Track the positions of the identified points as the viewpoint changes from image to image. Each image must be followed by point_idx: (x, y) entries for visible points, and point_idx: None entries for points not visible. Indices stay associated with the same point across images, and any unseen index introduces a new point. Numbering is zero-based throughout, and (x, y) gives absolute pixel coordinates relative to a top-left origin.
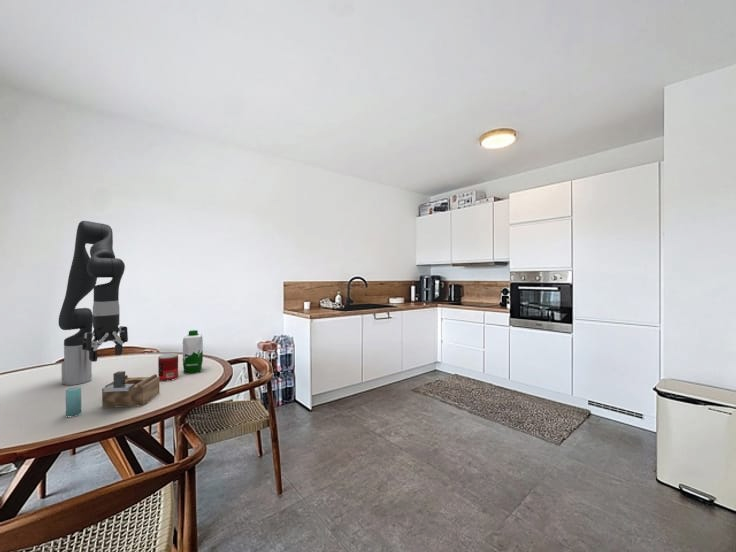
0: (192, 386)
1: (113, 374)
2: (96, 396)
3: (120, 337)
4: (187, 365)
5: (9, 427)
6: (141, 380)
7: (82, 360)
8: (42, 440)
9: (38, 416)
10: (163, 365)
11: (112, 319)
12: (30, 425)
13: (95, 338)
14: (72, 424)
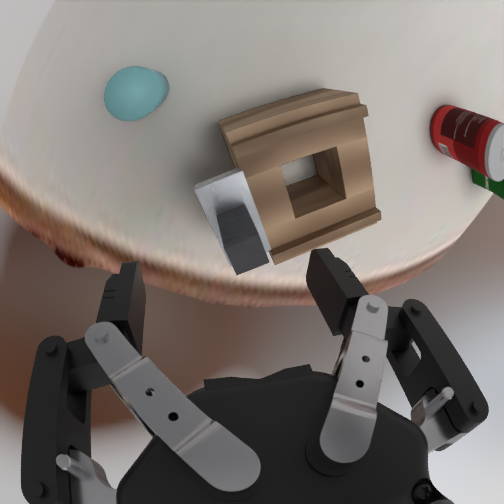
0: (392, 239)
1: (223, 246)
2: (296, 11)
3: (415, 341)
4: None
5: (44, 28)
6: (343, 190)
7: None
8: (34, 199)
9: (112, 5)
10: (467, 147)
11: None
12: (62, 61)
13: (158, 428)
14: (102, 166)
